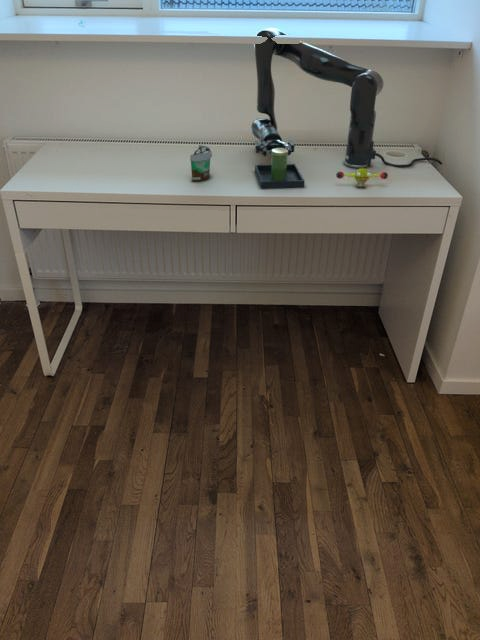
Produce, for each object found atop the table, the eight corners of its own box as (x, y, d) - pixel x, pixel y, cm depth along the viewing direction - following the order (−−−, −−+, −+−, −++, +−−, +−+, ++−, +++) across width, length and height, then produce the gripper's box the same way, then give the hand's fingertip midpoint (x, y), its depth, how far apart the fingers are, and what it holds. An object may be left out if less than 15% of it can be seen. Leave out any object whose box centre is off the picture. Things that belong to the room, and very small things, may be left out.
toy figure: (336, 189, 188) (338, 170, 184) (334, 184, 193) (336, 165, 189) (387, 190, 188) (391, 171, 185) (384, 184, 193) (387, 165, 189)
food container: (207, 184, 191) (207, 156, 185) (191, 183, 192) (189, 155, 186) (216, 172, 201) (215, 145, 195) (200, 171, 202) (199, 144, 196)
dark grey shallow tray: (294, 170, 204) (295, 164, 202) (303, 187, 190) (304, 180, 188) (254, 171, 202) (255, 165, 201) (261, 188, 188) (261, 181, 187)
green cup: (284, 174, 199) (286, 147, 193) (287, 180, 194) (289, 152, 188) (269, 175, 198) (270, 147, 192) (271, 180, 193) (272, 153, 188)
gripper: (252, 130, 206) (258, 143, 193) (289, 129, 207) (297, 142, 194) (252, 149, 210) (257, 163, 197) (288, 148, 212) (296, 162, 198)
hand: (277, 153), depth 195 cm, fingers open, 8 cm apart
